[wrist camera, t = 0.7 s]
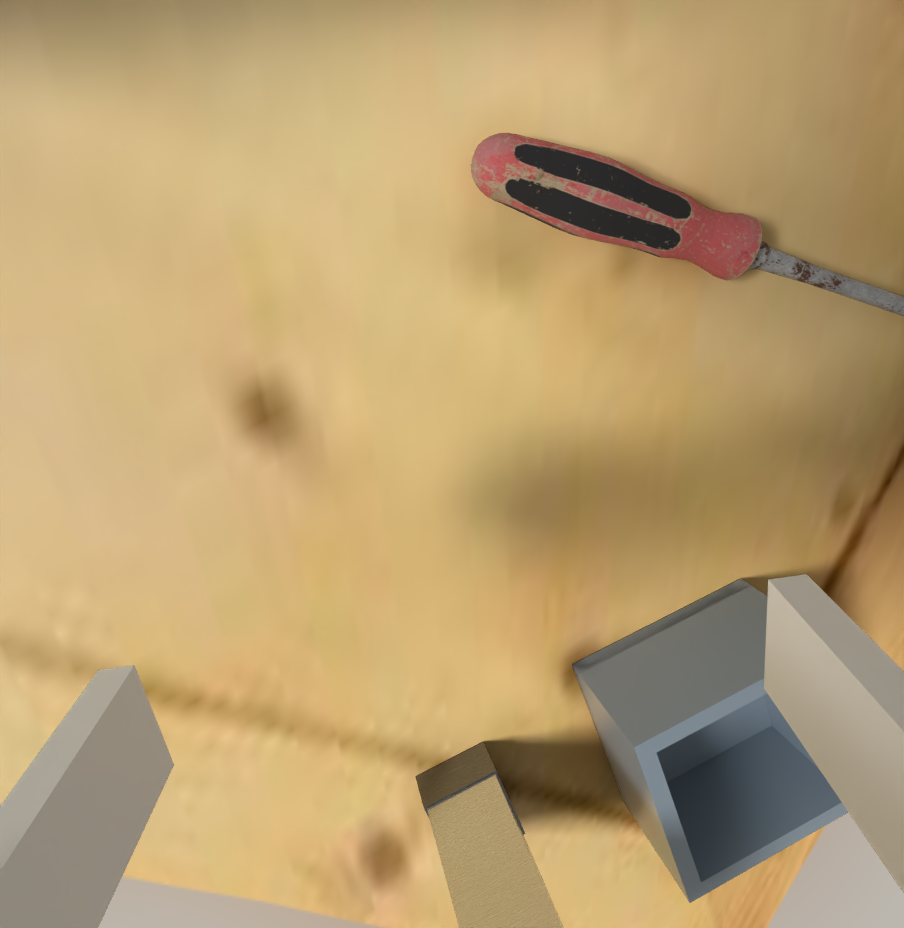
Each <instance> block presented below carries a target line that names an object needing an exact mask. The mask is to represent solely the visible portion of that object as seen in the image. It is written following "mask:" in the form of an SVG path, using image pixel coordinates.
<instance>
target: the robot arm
mask: <svg viewBox="0 0 904 928" xmlns="http://www.w3.org/2000/svg"><path fill="white" fill-rule="evenodd" d="M764 689H765V690H766V692H767V693H768V695H769V696H770V698H771V699H772V701H773V702H774V704H775V705H776V706H777V708H778V709H779V711H780V712H781V714H782V715H783V717H784V718H785V720H786V721H787V723H788V724H789V726H790V727H791V729H792V730H793V731H794V733H795V734H796V736H797V737H798V739H799V740H800V742H801V743H802V745H803V746H804V748H805V749H806V751H807V752H808V753H809V755H810V756H811V758H812V759H813V761H814V762H815V764H816V765H817V767H818V768H819V770H820V771H821V773H822V774H823V775H824V777H825V778H826V780H827V781H828V783H829V784H830V786H831V787H832V789H833V790H834V792H835V793H836V795H837V796H838V797H839V799H840V800H841V802H842V803H843V805H844V806H845V808H846V809H847V811H848V812H849V813H850V815H851V816H852V818H853V819H854V821H855V822H856V824H857V825H858V827H859V828H860V830H861V831H862V833H863V834H864V836H865V837H866V838H867V840H868V842H869V843H870V844H871V846H872V847H873V849H874V850H875V852H876V853H877V855H878V856H879V858H880V859H881V861H882V862H883V864H884V865H885V866H886V868H887V869H888V871H889V872H890V874H891V875H892V877H893V878H894V880H895V881H896V883H897V884H898V885H899V887H900V889H901V890H902V891H903V893H904V671H903V670H902V669H901V668H900V667H899V666H898V665H897V664H896V663H895V662H894V661H893V660H892V659H891V658H890V657H889V656H888V655H887V654H886V653H885V652H884V651H883V650H882V649H881V648H880V647H879V646H878V645H877V644H876V643H875V642H874V641H873V640H872V639H871V638H870V637H869V636H868V635H867V634H866V633H865V632H864V631H863V630H862V629H861V628H860V627H859V626H858V625H857V624H856V623H855V622H854V621H853V620H852V619H851V618H850V617H849V616H848V615H847V614H846V613H845V612H844V611H843V610H842V609H841V608H840V607H839V606H838V605H837V604H836V603H835V602H834V601H833V600H832V599H831V598H830V597H829V596H828V595H827V594H826V593H825V592H824V591H823V590H822V589H821V588H820V587H819V586H818V585H817V584H816V583H815V582H814V581H813V580H812V579H811V578H810V577H809V576H808V575H807V574H805V575H798V576H790V577H783V578H775V579H768V598H767V622H766V646H765V670H764ZM173 766H174V764H173V761H172V758H171V756H170V753H169V751H168V748H167V746H166V743H165V741H164V738H163V736H162V733H161V731H160V728H159V726H158V723H157V721H156V718H155V716H154V713H153V711H152V708H151V706H150V703H149V700H148V698H147V695H146V693H145V690H144V688H143V685H142V683H141V680H140V678H139V675H138V673H137V670H136V668H135V665H132V666H124V667H117V668H110V669H102V670H98V672H97V673H96V674H95V676H94V677H93V678H92V680H91V681H90V683H89V684H88V685H87V687H86V688H85V690H84V691H83V692H82V694H81V695H80V696H79V698H78V699H77V701H76V702H75V703H74V705H73V706H72V708H71V709H70V710H69V712H68V713H67V714H66V716H65V717H64V719H63V720H62V721H61V723H60V724H59V726H58V727H57V728H56V730H55V731H54V732H53V734H52V735H51V737H50V738H49V739H48V741H47V742H46V744H45V745H44V746H43V748H42V749H41V750H40V752H39V753H38V755H37V756H36V757H35V759H34V760H33V762H32V763H31V764H30V766H29V767H28V768H27V770H26V771H25V773H24V774H23V775H22V777H21V778H20V780H19V781H18V782H17V784H16V785H15V786H14V788H13V789H12V791H11V792H10V793H9V795H8V796H7V798H6V799H5V800H4V802H3V803H2V804H1V806H0V928H98V927H99V924H100V923H101V920H102V918H103V916H104V914H105V912H106V910H107V908H108V905H109V903H110V901H111V899H112V897H113V895H114V892H115V890H116V888H117V886H118V884H119V882H120V879H121V877H122V875H123V873H124V871H125V869H126V867H127V865H128V862H129V860H130V858H131V856H132V854H133V852H134V849H135V847H136V845H137V843H138V841H139V839H140V837H141V834H142V832H143V830H144V828H145V826H146V824H147V822H148V819H149V817H150V815H151V813H152V811H153V809H154V807H155V804H156V802H157V800H158V798H159V796H160V794H161V791H162V789H163V787H164V785H165V783H166V781H167V779H168V776H169V774H170V772H171V770H172V768H173Z"/></svg>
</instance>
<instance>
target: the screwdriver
mask: <svg viewBox="0 0 904 928" xmlns="http://www.w3.org/2000/svg"><path fill="white" fill-rule="evenodd" d="M471 172H472V177H473V179H474V181H475V183H476V185H477V186H478V188H479V189H480V191H481V192H483V193H484V194H485V195H486V196H487V197H489V198H491V199H492V200H494V201H497V202H499V203H502V204H504V205H506V206H508V207H511V208H513V209H515V210H517V211H519V212H522V213H524V214H526V215H528V216H530V217H532V218H535V219H537V220H539V221H541V222H543V223H545V224H548V225H550V226H552V227H554V228H556V229H559V230H562V231H564V232H567V233H569V234H572V235H575V236H579V237H583V238H588V239H592V240H596V241H602V242H607V243H612V244H618V245H623V246H627V247H631V248H634V249H638V250H641V251H644V252H647V253H650V254H652V255H655V256H658V257H664V258H679V259H684V260H688V261H690V262H692V263H694V264H696V265H698V266H700V267H701V268H703V269H704V270H706V271H707V272H709V273H710V274H712V275H713V276H715V277H718V278H721V279H724V280H733V279H735V278H737V277H739V276H740V275H742V274H743V273H744V272H745V271H746V270H747V269H748V268H749V269H760V270H763V271H767V272H770V273H774V274H777V275H780V276H784V277H787V278H791V279H794V280H797V281H801V282H804V283H808V284H811V285H814V286H817V287H820V288H823V289H825V290H828V291H831V292H834V293H837V294H840V295H843V296H846V297H849V298H852V299H855V300H858V301H861V302H864V303H867V304H870V305H873V306H876V307H879V308H881V309H884V310H887V311H890V312H893V313H896V314H899V315H902V316H904V297H903V296H900V295H897V294H894V293H891V292H889V291H886V290H883V289H880V288H877V287H874V286H872V285H869V284H866V283H863V282H860V281H858V280H855V279H852V278H849V277H846V276H843V275H841V274H838V273H835V272H832V271H829V270H827V269H824V268H821V267H818V266H815V265H813V264H811V263H808V262H806V261H803V260H801V259H798V258H796V257H793V256H791V255H788V254H786V253H783V252H781V251H778V250H776V249H773V248H771V247H768V245H767V244H766V243H765V242H762V227H761V224H760V222H759V221H758V220H757V219H756V218H753V217H750V216H747V215H744V214H735V213H724V212H719V211H714V210H710V209H708V208H706V207H704V206H702V205H700V204H699V203H698V202H696V201H695V200H694V199H693V198H691V197H690V196H688V195H687V194H685V193H682V192H680V191H677V190H675V189H672V188H670V187H667V186H665V185H663V184H660V183H658V182H656V181H654V180H652V179H650V178H648V177H646V176H644V175H642V174H640V173H638V172H637V171H635V170H633V169H631V168H629V167H627V166H626V165H624V164H622V163H620V162H618V161H615V160H613V159H611V158H609V157H605V156H602V155H599V154H595V153H592V152H588V151H584V150H580V149H575V148H571V147H567V146H563V145H558V144H554V143H550V142H546V141H541V140H537V139H533V138H529V137H525V136H521V135H517V134H511V133H499V134H495V135H493V136H490V137H488V138H487V139H485V140H483V141H482V142H481V143H480V144H479V145H478V147H477V148H476V150H475V153H474V155H473V158H472V164H471Z"/></svg>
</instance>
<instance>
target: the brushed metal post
mask: <svg viewBox="0 0 904 928" xmlns="http://www.w3.org/2000/svg"><path fill="white" fill-rule="evenodd" d="M416 780H417V784H418V788H419V791H420V795H421V799H422V803H423V806H424V809H425V811H426V813H427V815H428V817H429V819H430V822H431V826H432V829H433V833H434V837H435V840H436V844H437V848H438V851H439V855H440V859H441V862H442V866H443V869H444V873H445V877H446V880H447V884H448V888H449V891H450V895H451V899H452V902H453V906H454V910H455V913H456V917H457V921H458V924H459V928H564V927H563V925H562V923H561V920H560V918H559V916H558V913H557V911H556V909H555V906H554V904H553V902H552V900H551V897H550V895H549V893H548V890H547V888H546V886H545V883H544V881H543V879H542V877H541V874H540V872H539V870H538V867H537V865H536V863H535V860H534V858H533V856H532V854H531V851H530V849H529V847H528V844H527V842H526V840H525V837H524V834H525V832H524V830H523V827H522V825H521V823H520V821H519V818H518V816H517V814H516V811H515V809H514V807H513V805H512V802H511V800H510V798H509V796H508V794H507V792H506V789H505V787H504V785H503V783H502V781H501V779H500V776H499V774H498V772H497V770H496V768H495V766H494V764H493V761H492V759H491V757H490V755H489V753H488V751H487V748H486V746H485V744H484V742H482V743H480V744H478V745H476V746H474V747H472V748H470V749H468V750H466V751H464V752H462V753H460V754H458V755H456V756H455V757H453V758H451V759H449V760H447V761H445V762H443V763H441V764H439V765H437V766H435V767H433V768H431V769H429V770H427V771H425V772H423V773H422V774H420V775H418V776H416Z"/></svg>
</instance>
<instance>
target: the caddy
mask: <svg viewBox="0 0 904 928" xmlns="http://www.w3.org/2000/svg"><path fill="white" fill-rule="evenodd" d="M767 598H768V596H767V595H765V594H764V593H762V592H761V591H759V590H757V589H756V588H754V587H753V586H751V585H750V584H748V583H747V582H745V581H744V580H742V579H739V580H737V581H735V582H733V583H731V584H729V585H727V586H725V587H723V588H721V589H719V590H717V591H715V592H713V593H711V594H709V595H708V596H706V597H704V598H702V599H700V600H698V601H696V602H694V603H692V604H690V605H688V606H686V607H684V608H682V609H680V610H678V611H676V612H674V613H672V614H670V615H668V616H666V617H664V618H662V619H660V620H658V621H656V622H654V623H653V624H651V625H649V626H647V627H645V628H643V629H641V630H639V631H637V632H635V633H633V634H631V635H629V636H627V637H625V638H623V639H621V640H619V641H617V642H615V643H613V644H611V645H609V646H607V647H605V648H603V649H601V650H599V651H598V652H596V653H594V654H592V655H590V656H588V657H586V658H584V659H582V660H580V661H578V662H576V663H574V664H572V666H573V669H574V672H575V674H576V677H577V680H578V682H579V685H580V687H581V690H582V693H583V695H584V698H585V701H586V703H587V706H588V709H589V711H590V714H591V716H592V719H593V722H594V724H595V727H596V730H597V732H598V735H599V737H600V740H601V743H602V745H603V748H604V751H605V753H606V756H607V759H608V761H609V764H610V766H611V769H612V772H613V774H614V777H615V780H616V782H617V785H618V787H619V790H620V793H621V795H622V798H623V801H624V803H625V805H626V806H627V808H628V809H629V811H630V812H631V814H632V815H633V817H634V818H635V820H636V821H637V823H638V825H639V826H640V828H641V829H642V831H643V832H644V834H645V835H646V837H647V838H648V840H649V841H650V843H651V844H652V846H653V847H654V849H655V851H656V852H657V854H658V855H659V857H660V858H661V860H662V861H663V863H664V864H665V866H666V867H667V869H668V870H669V872H670V873H671V875H672V877H673V878H674V880H675V881H676V883H677V884H678V886H679V887H680V889H681V890H682V892H683V893H684V895H685V896H686V898H687V899H688V901H689V902H690V903H691V902H692V901H694V900H696V899H698V898H699V897H701V896H703V895H705V894H706V893H708V892H710V891H712V890H713V889H715V888H717V887H719V886H720V885H722V884H724V883H726V882H727V881H729V880H731V879H733V878H734V877H736V876H738V875H740V874H741V873H743V872H745V871H747V870H748V869H750V868H752V867H754V866H755V865H757V864H759V863H761V862H762V861H764V860H766V859H768V858H769V857H771V856H773V855H775V854H776V853H778V852H780V851H782V850H783V849H785V848H787V847H789V846H790V845H792V844H794V843H796V842H797V841H799V840H801V839H803V838H804V837H806V836H808V835H810V834H811V833H813V832H815V831H817V830H818V829H820V828H822V827H824V826H825V825H827V824H829V823H831V822H832V821H834V820H835V819H837V818H839V817H841V816H843V815H844V814H846V813H848V811H847V809H846V808H845V806H844V805H843V803H842V802H841V800H840V799H839V797H838V796H837V795H836V793H835V792H834V790H833V789H832V787H831V786H830V784H829V783H828V781H827V780H826V778H825V777H824V775H823V774H822V773H821V771H820V770H819V768H818V767H817V765H816V764H815V762H814V761H813V759H812V758H811V756H810V755H809V753H808V752H807V751H806V749H805V748H804V746H803V745H802V743H801V742H800V740H799V739H798V737H797V736H796V734H795V733H794V731H793V730H792V729H791V727H790V726H789V724H788V723H787V721H786V720H785V718H784V717H783V715H782V714H781V712H780V711H779V709H778V708H777V706H776V705H775V704H774V702H773V701H772V699H771V698H770V696H769V695H768V693H767V692H766V690H765V689H764V670H765V646H766V622H767Z"/></svg>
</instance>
